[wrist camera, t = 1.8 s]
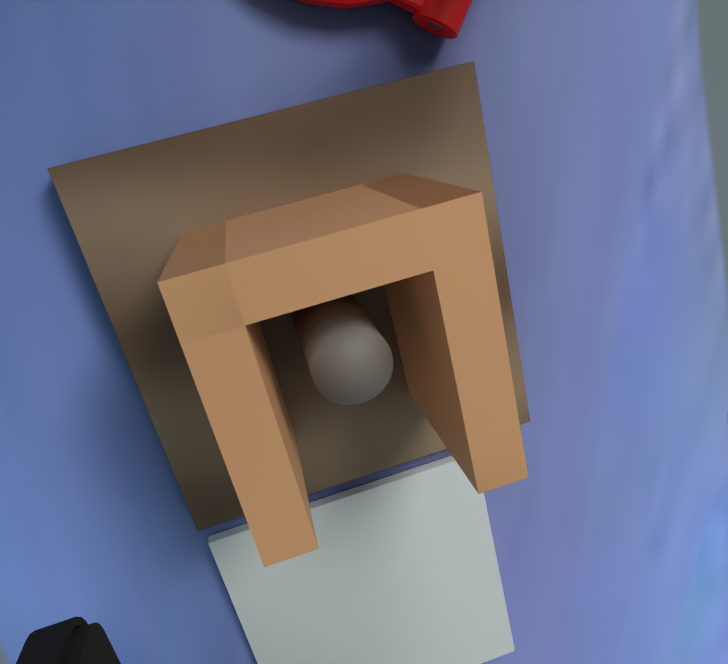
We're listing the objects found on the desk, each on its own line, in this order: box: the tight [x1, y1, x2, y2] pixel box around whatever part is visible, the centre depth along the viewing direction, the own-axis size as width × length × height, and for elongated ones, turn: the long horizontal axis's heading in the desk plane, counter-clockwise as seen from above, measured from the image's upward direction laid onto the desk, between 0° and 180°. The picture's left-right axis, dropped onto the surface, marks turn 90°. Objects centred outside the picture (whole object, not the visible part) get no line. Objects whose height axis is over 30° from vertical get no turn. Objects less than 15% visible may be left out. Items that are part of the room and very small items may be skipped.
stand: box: [48, 61, 530, 531], centre depth 17 cm, size 12×12×6 cm
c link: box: [157, 173, 528, 568], centre depth 16 cm, size 7×7×6 cm
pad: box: [208, 455, 515, 664], centre depth 23 cm, size 10×10×1 cm
